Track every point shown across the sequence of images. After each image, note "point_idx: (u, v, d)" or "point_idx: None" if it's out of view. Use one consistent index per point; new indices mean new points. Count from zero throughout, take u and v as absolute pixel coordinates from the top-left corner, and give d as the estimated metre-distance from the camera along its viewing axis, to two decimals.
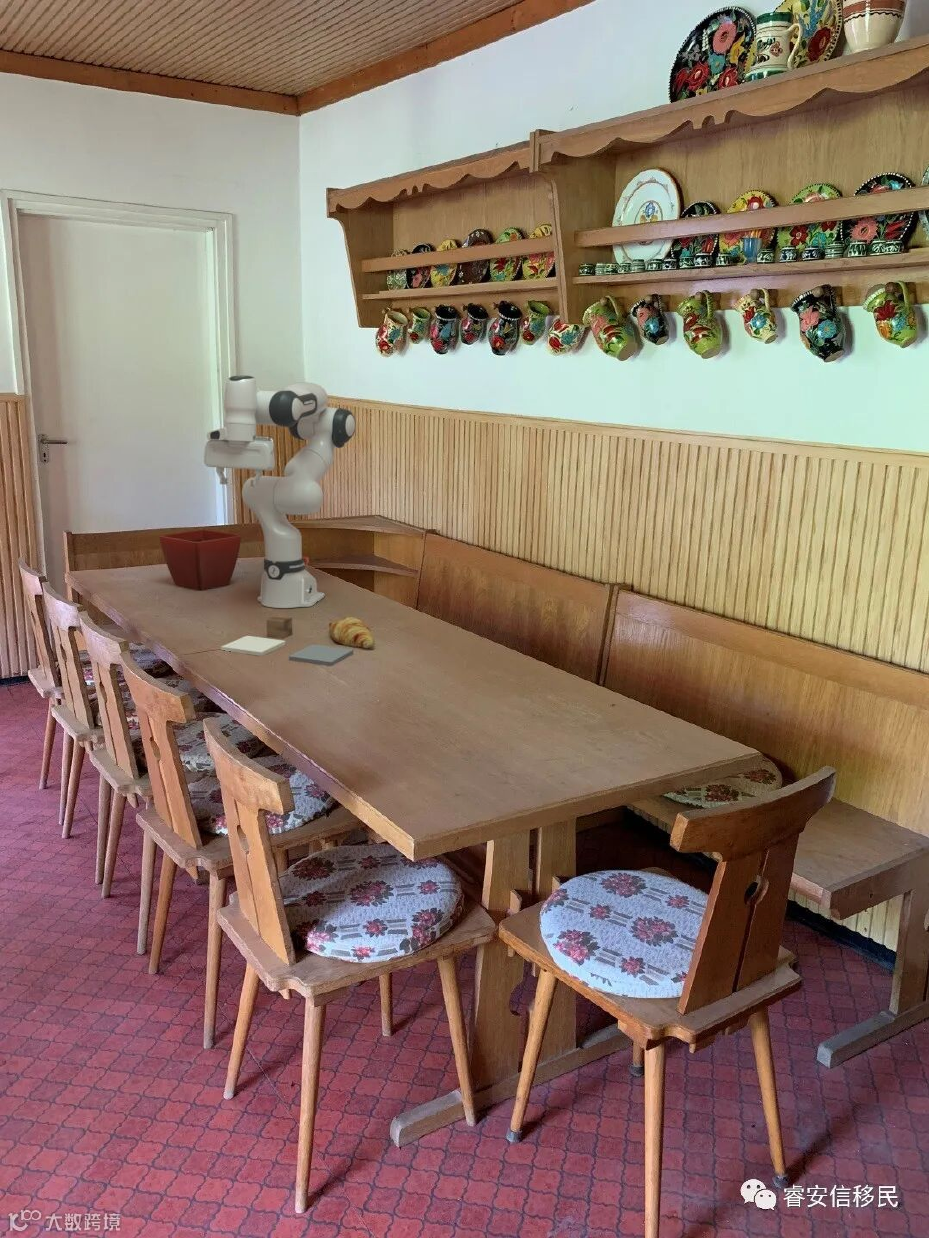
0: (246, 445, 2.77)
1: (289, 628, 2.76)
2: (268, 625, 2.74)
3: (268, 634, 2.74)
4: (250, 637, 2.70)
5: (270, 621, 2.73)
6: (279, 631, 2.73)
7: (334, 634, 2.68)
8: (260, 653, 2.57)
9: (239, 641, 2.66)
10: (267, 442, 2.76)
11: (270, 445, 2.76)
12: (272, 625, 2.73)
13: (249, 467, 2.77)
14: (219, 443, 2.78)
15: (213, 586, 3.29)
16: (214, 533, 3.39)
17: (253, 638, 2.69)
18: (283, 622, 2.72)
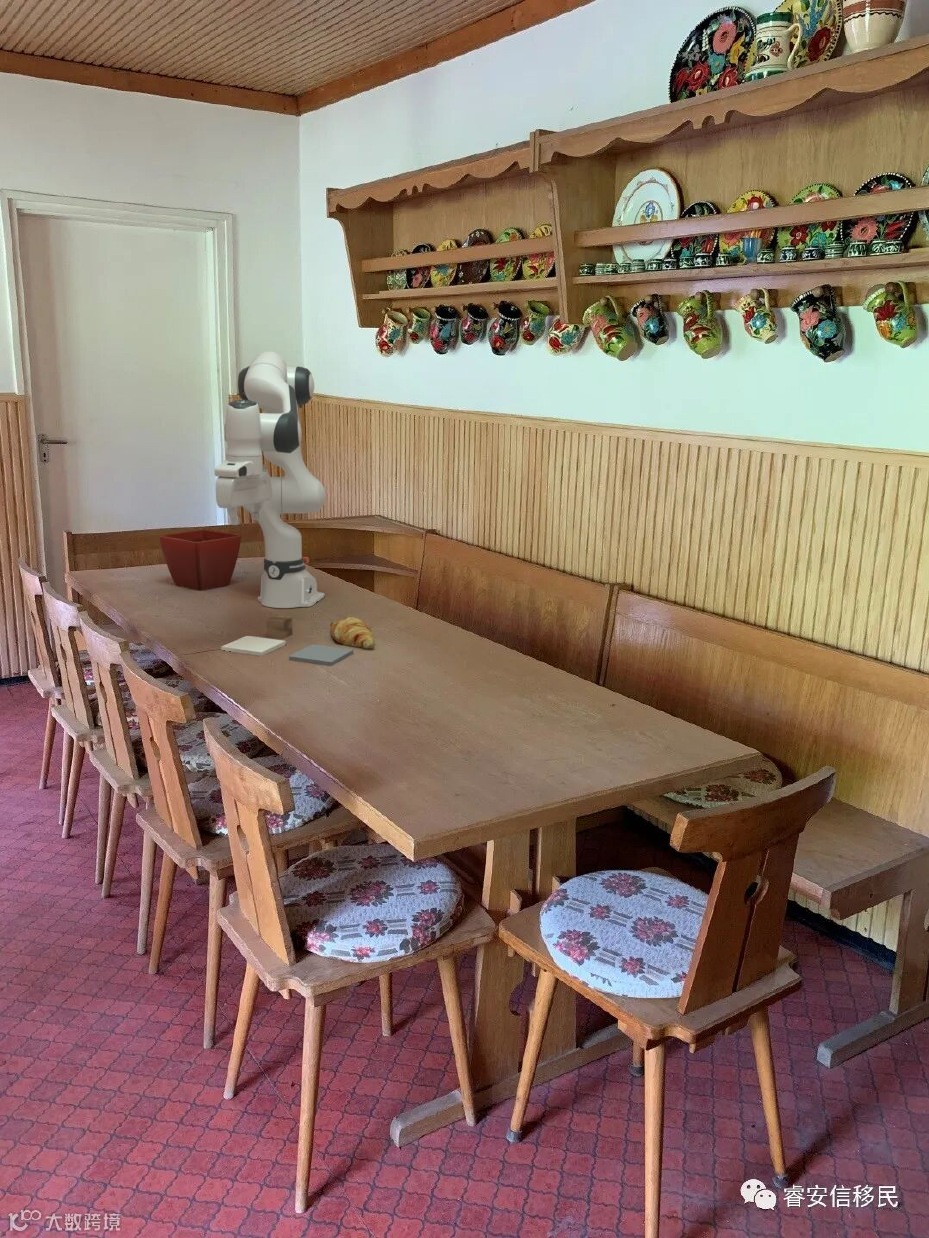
0: (257, 477, 2.54)
1: (289, 628, 2.76)
2: (268, 625, 2.74)
3: (268, 634, 2.74)
4: (250, 637, 2.70)
5: (270, 621, 2.73)
6: (279, 631, 2.73)
7: (335, 634, 2.69)
8: (260, 653, 2.57)
9: (239, 641, 2.66)
10: (264, 470, 2.59)
11: None
12: (272, 625, 2.73)
13: (260, 500, 2.56)
14: (244, 480, 2.46)
15: (213, 586, 3.29)
16: (214, 533, 3.39)
17: (253, 638, 2.69)
18: (283, 622, 2.72)
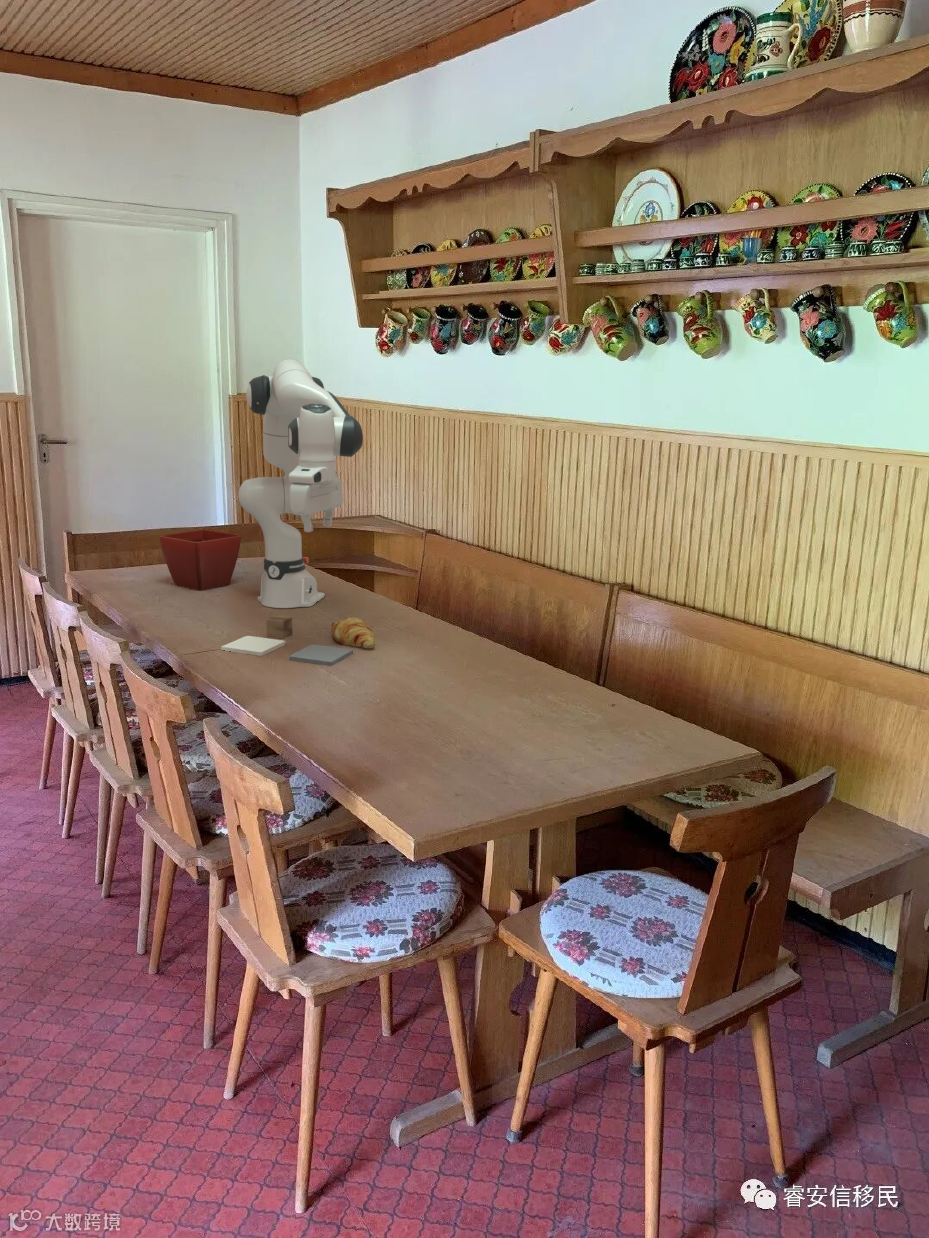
0: (329, 483, 2.48)
1: (289, 628, 2.76)
2: (268, 625, 2.74)
3: (268, 634, 2.74)
4: (250, 637, 2.70)
5: (270, 621, 2.73)
6: (279, 631, 2.73)
7: (335, 634, 2.69)
8: (260, 653, 2.57)
9: (239, 641, 2.66)
10: (335, 476, 2.53)
11: None
12: (272, 625, 2.73)
13: (332, 506, 2.50)
14: (318, 486, 2.40)
15: (213, 586, 3.29)
16: (214, 533, 3.39)
17: (253, 638, 2.69)
18: (283, 622, 2.72)
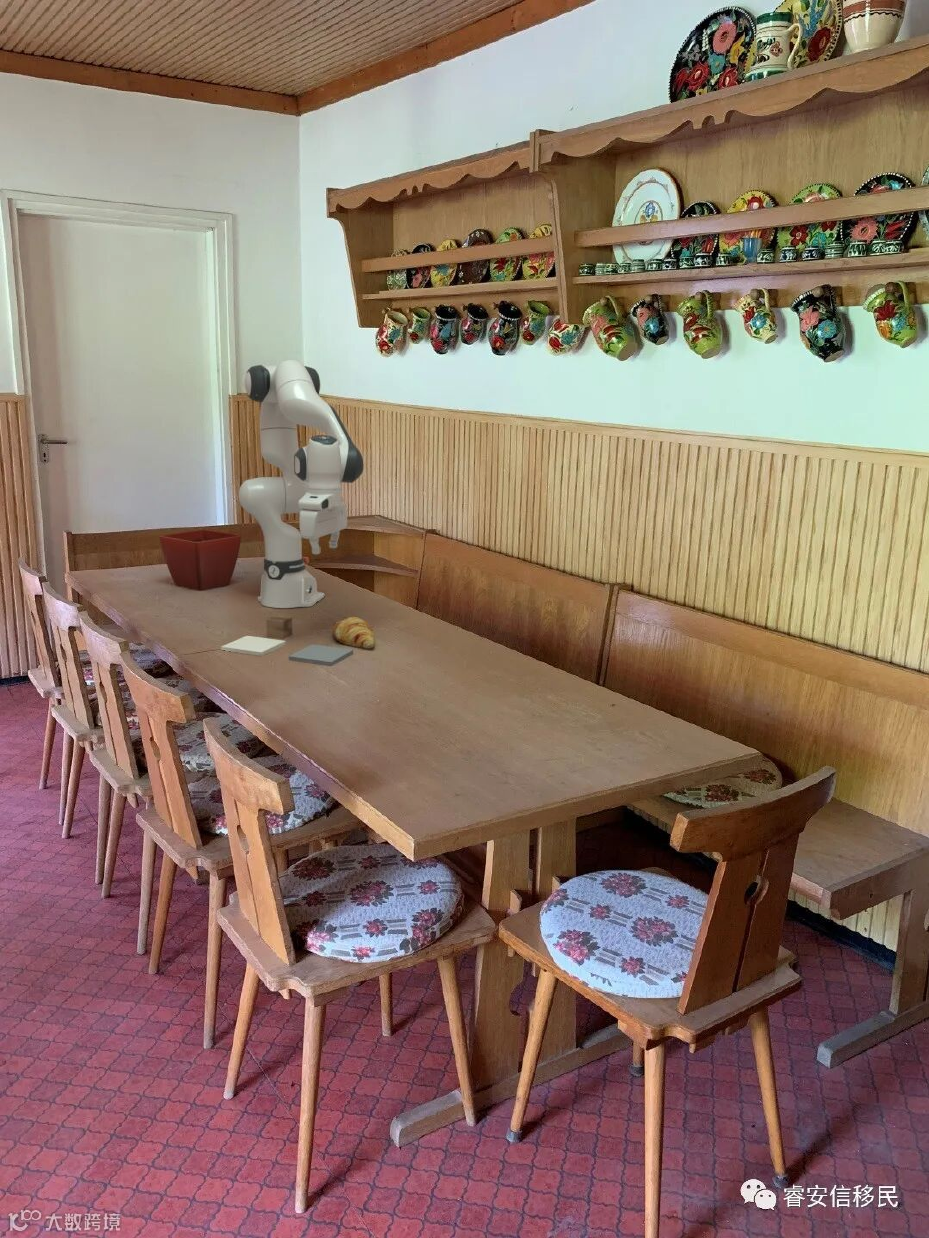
0: None
1: (289, 628, 2.76)
2: (268, 625, 2.74)
3: (268, 634, 2.74)
4: (250, 637, 2.70)
5: (270, 621, 2.73)
6: (279, 631, 2.73)
7: (336, 634, 2.69)
8: (260, 653, 2.57)
9: (239, 641, 2.66)
10: (340, 500, 2.72)
11: None
12: (272, 625, 2.73)
13: (337, 529, 2.69)
14: (325, 512, 2.60)
15: (213, 586, 3.29)
16: (214, 533, 3.39)
17: (253, 638, 2.69)
18: (283, 622, 2.72)
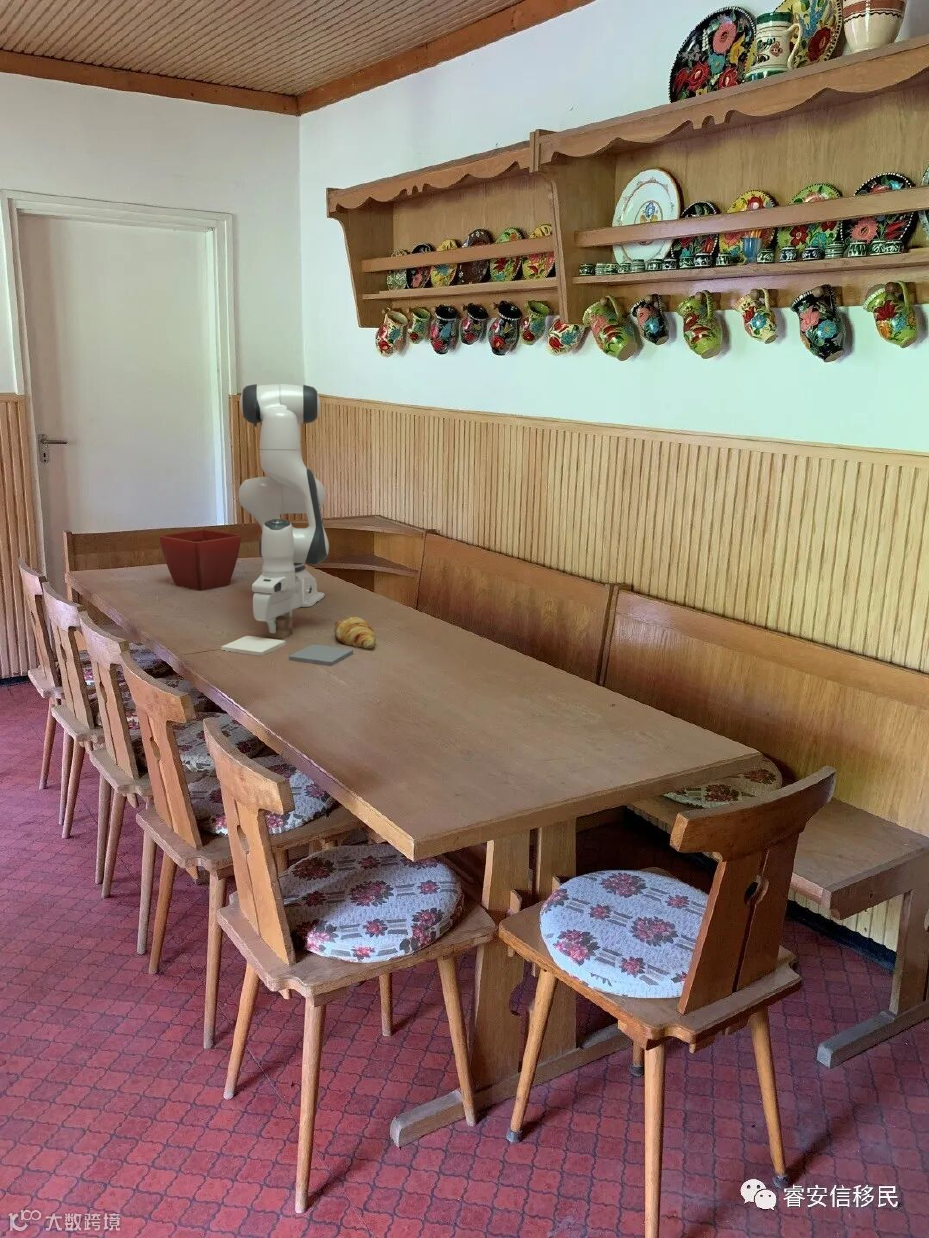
0: (290, 588, 2.75)
1: (289, 628, 2.76)
2: None
3: (268, 633, 2.74)
4: (250, 637, 2.70)
5: None
6: (279, 630, 2.73)
7: (337, 633, 2.69)
8: (260, 653, 2.57)
9: (239, 641, 2.66)
10: (296, 580, 2.80)
11: (297, 582, 2.81)
12: None
13: (292, 608, 2.77)
14: (278, 594, 2.68)
15: (213, 586, 3.29)
16: (214, 533, 3.39)
17: (253, 638, 2.69)
18: (283, 621, 2.72)
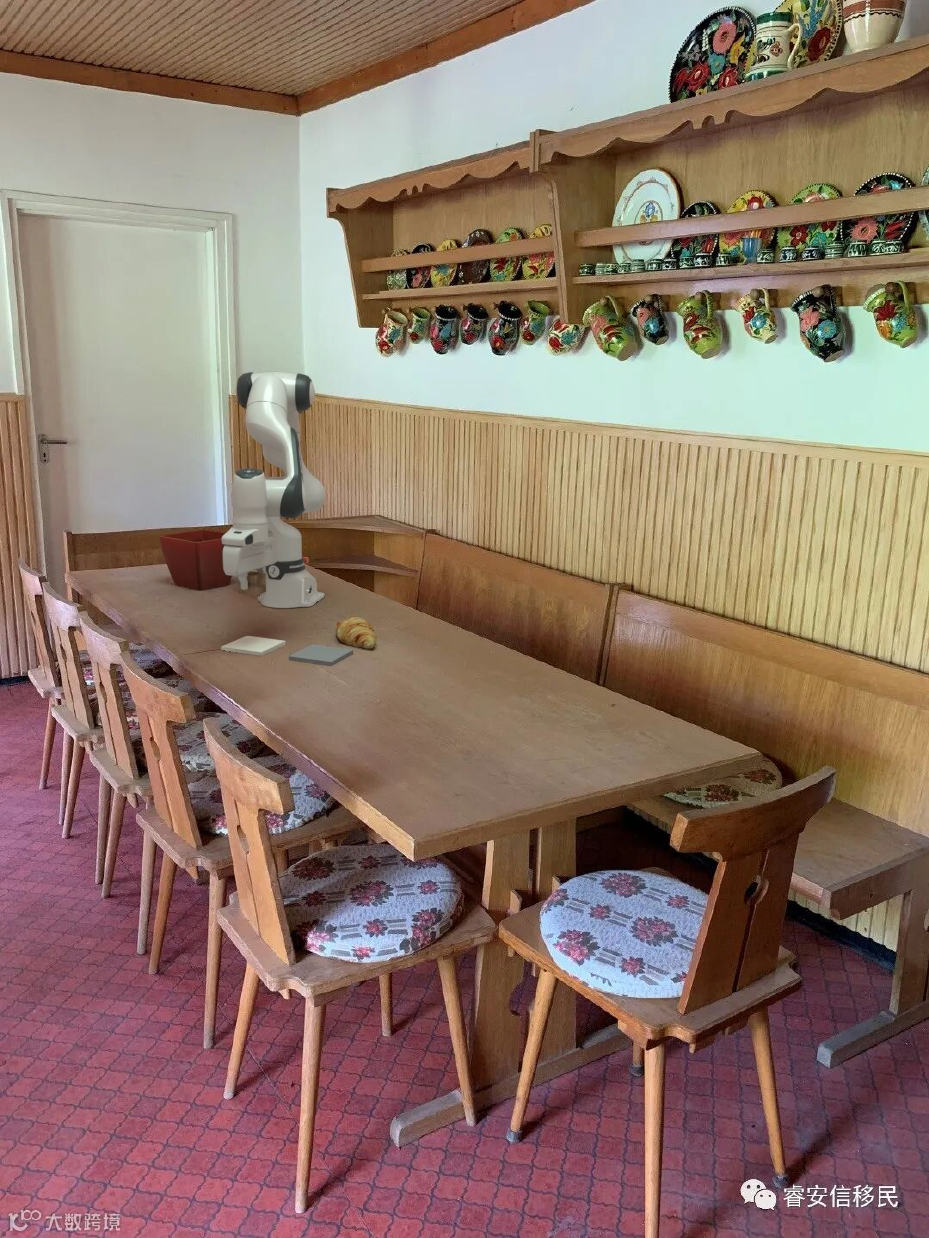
0: (263, 543, 2.60)
1: (263, 584, 2.60)
2: None
3: (240, 590, 2.59)
4: (250, 637, 2.70)
5: None
6: (251, 586, 2.57)
7: (337, 633, 2.69)
8: (260, 653, 2.57)
9: (239, 641, 2.66)
10: (270, 535, 2.65)
11: (271, 537, 2.66)
12: None
13: (266, 564, 2.62)
14: (250, 547, 2.52)
15: (213, 586, 3.29)
16: (214, 533, 3.39)
17: (253, 638, 2.69)
18: (255, 577, 2.57)
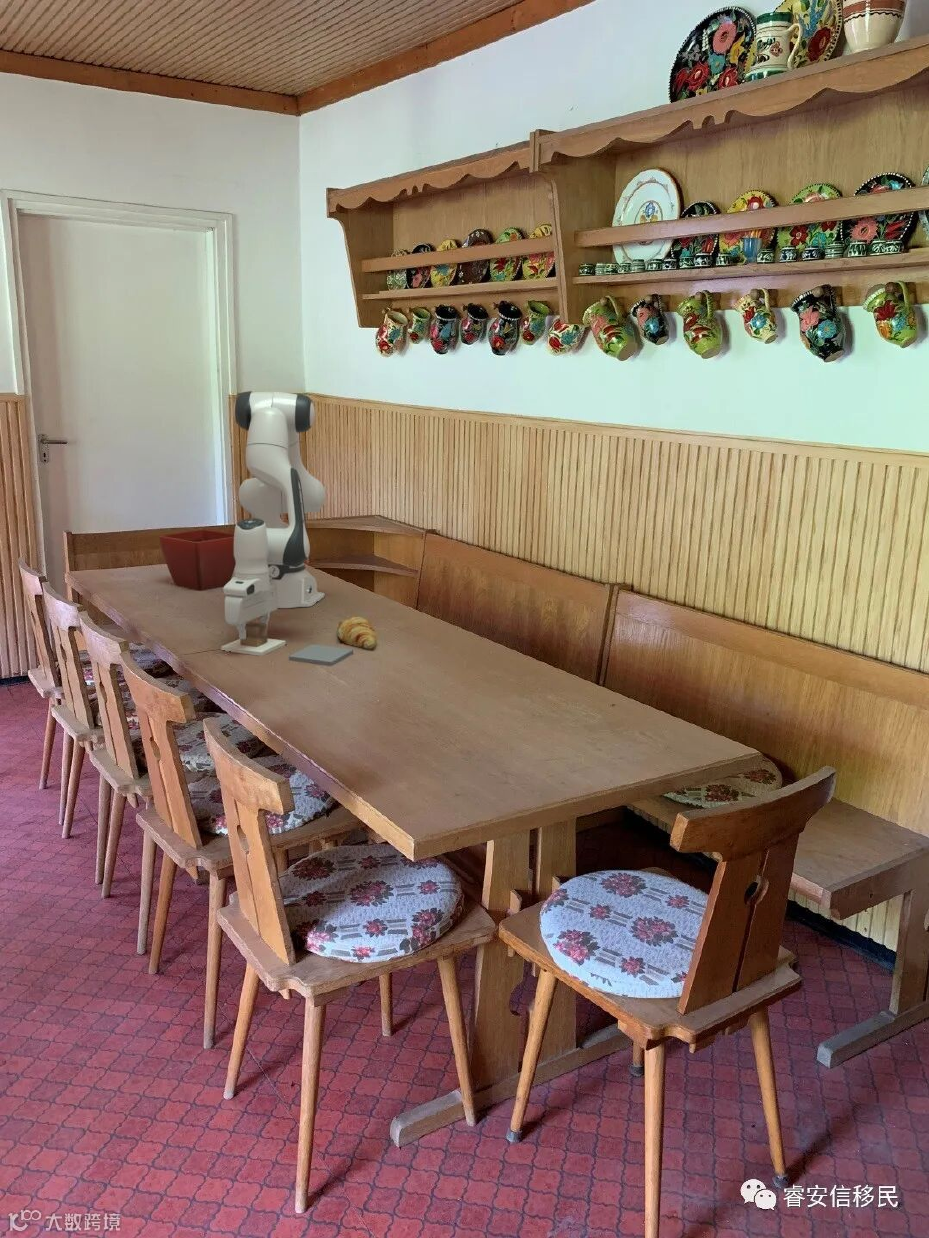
0: (264, 591, 2.63)
1: (264, 635, 2.64)
2: None
3: (242, 641, 2.62)
4: None
5: None
6: (253, 638, 2.61)
7: (338, 633, 2.69)
8: (260, 653, 2.57)
9: (239, 641, 2.66)
10: (271, 582, 2.68)
11: (273, 584, 2.69)
12: None
13: (267, 612, 2.65)
14: (251, 597, 2.55)
15: (213, 586, 3.29)
16: (214, 533, 3.39)
17: None
18: (257, 629, 2.60)
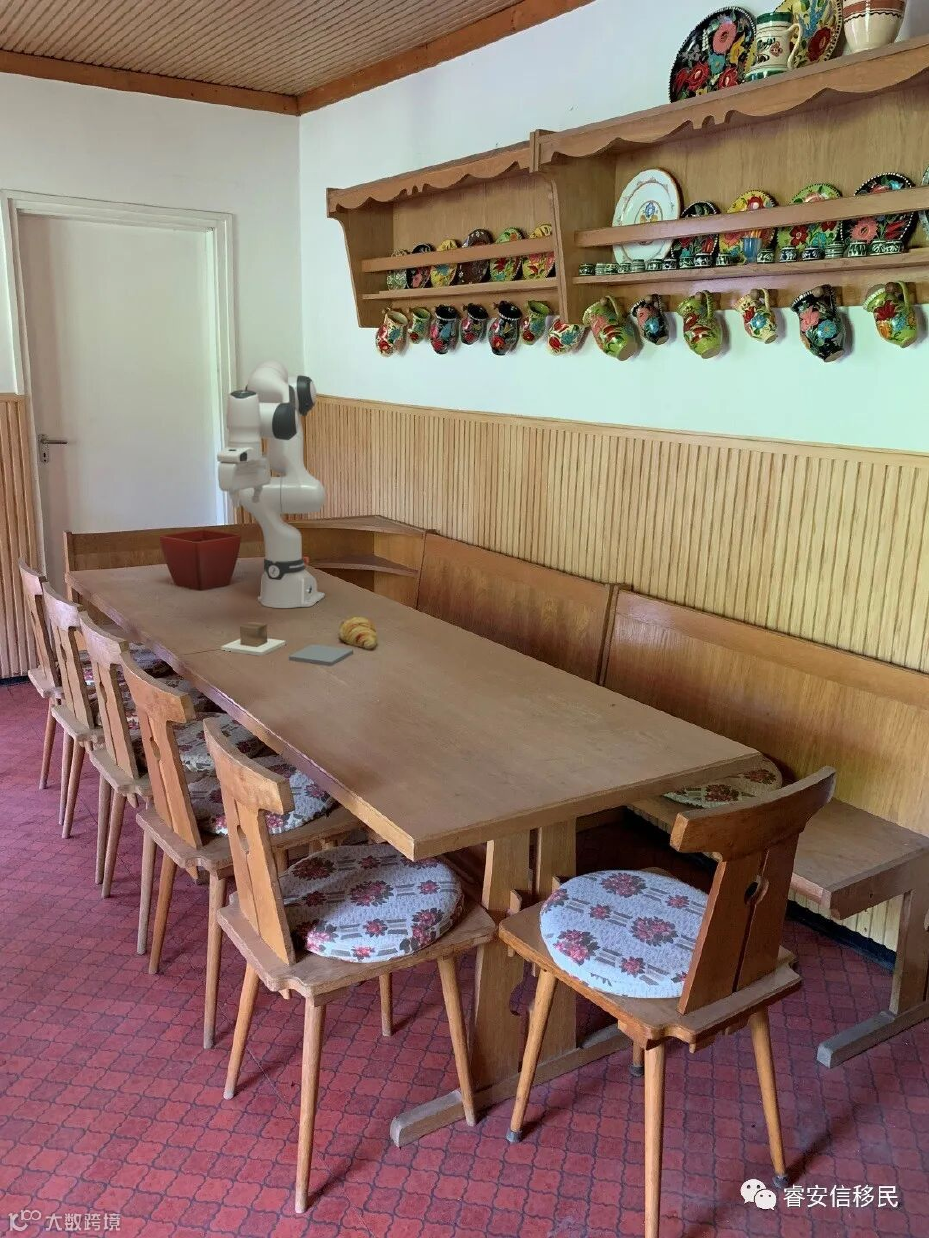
0: (257, 462, 2.71)
1: (264, 635, 2.64)
2: (242, 632, 2.62)
3: (242, 641, 2.62)
4: None
5: (243, 628, 2.61)
6: (253, 638, 2.61)
7: (339, 633, 2.70)
8: (260, 653, 2.57)
9: (239, 641, 2.66)
10: (263, 456, 2.76)
11: None
12: (246, 632, 2.61)
13: (259, 484, 2.73)
14: (244, 465, 2.64)
15: (213, 586, 3.29)
16: (214, 533, 3.39)
17: None
18: (257, 629, 2.60)
